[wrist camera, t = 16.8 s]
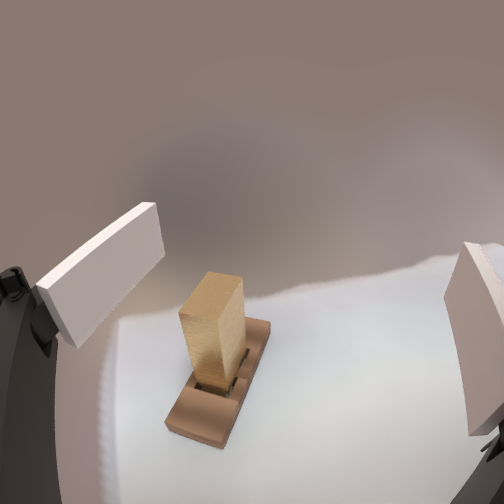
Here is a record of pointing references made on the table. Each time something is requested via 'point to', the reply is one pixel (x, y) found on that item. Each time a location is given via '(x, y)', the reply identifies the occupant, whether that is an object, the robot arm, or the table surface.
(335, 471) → the table surface
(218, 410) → the slotted wooden base
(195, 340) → the tall wooden block
